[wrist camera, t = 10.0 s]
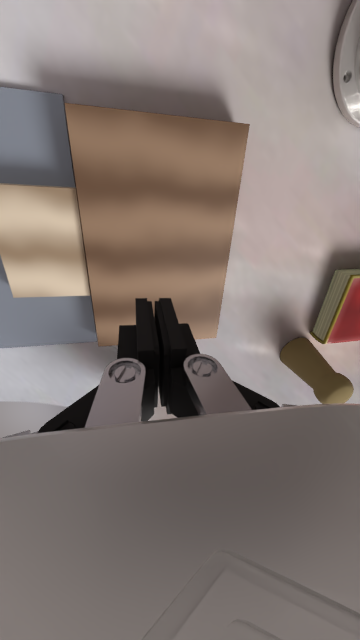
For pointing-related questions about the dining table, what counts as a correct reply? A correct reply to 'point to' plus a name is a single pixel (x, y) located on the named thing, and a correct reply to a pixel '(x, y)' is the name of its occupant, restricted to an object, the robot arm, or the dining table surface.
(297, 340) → the cork
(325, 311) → the hardcover book
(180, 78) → the dining table surface
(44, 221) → the birch tile
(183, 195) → the walnut board
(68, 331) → the rubber mat
